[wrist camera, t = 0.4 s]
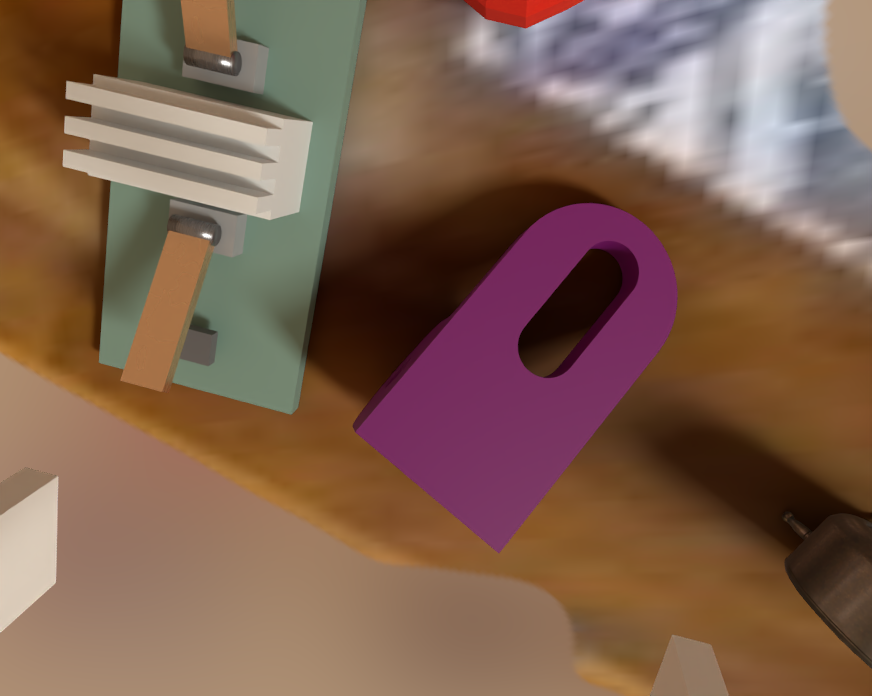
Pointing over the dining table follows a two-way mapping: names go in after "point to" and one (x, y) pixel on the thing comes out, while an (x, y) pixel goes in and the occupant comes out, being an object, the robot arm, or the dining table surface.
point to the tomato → (520, 10)
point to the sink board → (224, 182)
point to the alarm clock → (837, 576)
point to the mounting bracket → (521, 373)
